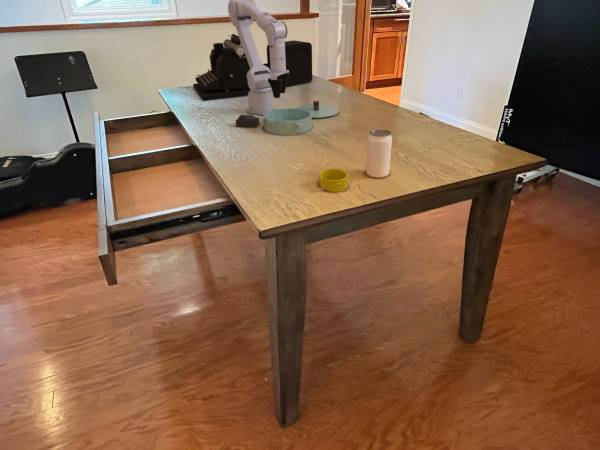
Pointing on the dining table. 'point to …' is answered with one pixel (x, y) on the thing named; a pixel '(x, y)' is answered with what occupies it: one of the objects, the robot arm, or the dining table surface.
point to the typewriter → (225, 72)
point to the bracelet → (333, 180)
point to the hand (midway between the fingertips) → (279, 95)
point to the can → (378, 153)
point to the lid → (320, 109)
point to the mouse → (247, 121)
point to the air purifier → (296, 62)
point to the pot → (287, 121)
